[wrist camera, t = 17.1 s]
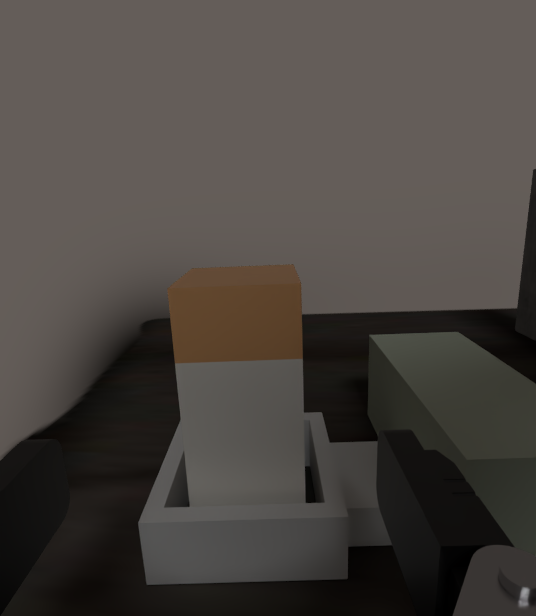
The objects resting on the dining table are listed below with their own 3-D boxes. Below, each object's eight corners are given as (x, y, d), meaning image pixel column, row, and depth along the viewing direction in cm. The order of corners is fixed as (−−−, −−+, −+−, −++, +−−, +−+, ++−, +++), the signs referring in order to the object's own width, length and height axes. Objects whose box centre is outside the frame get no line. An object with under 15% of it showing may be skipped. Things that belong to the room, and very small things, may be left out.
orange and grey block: (298, 475, 23) (293, 264, 20) (306, 548, 18) (301, 283, 15) (210, 478, 23) (192, 268, 20) (194, 551, 18) (167, 288, 15)
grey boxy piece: (451, 411, 29) (457, 331, 28) (612, 592, 15) (641, 454, 14) (199, 420, 29) (192, 341, 28) (139, 605, 16) (119, 471, 14)
